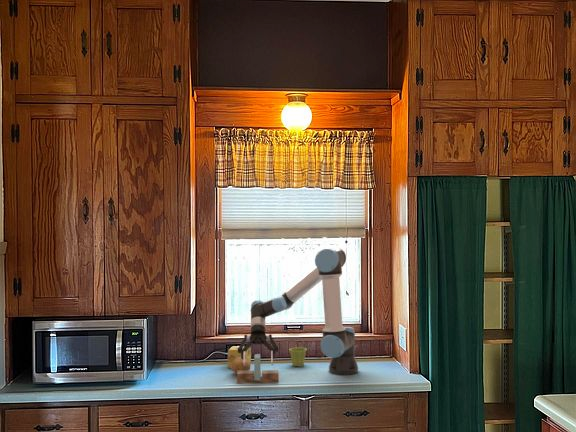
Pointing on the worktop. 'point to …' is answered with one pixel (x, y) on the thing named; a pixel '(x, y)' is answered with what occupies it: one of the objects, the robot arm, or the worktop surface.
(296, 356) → the plant pot
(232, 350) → the cheese
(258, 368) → the grey upright block
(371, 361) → the worktop surface
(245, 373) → the brown wooden u-shaped block
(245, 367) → the potato
